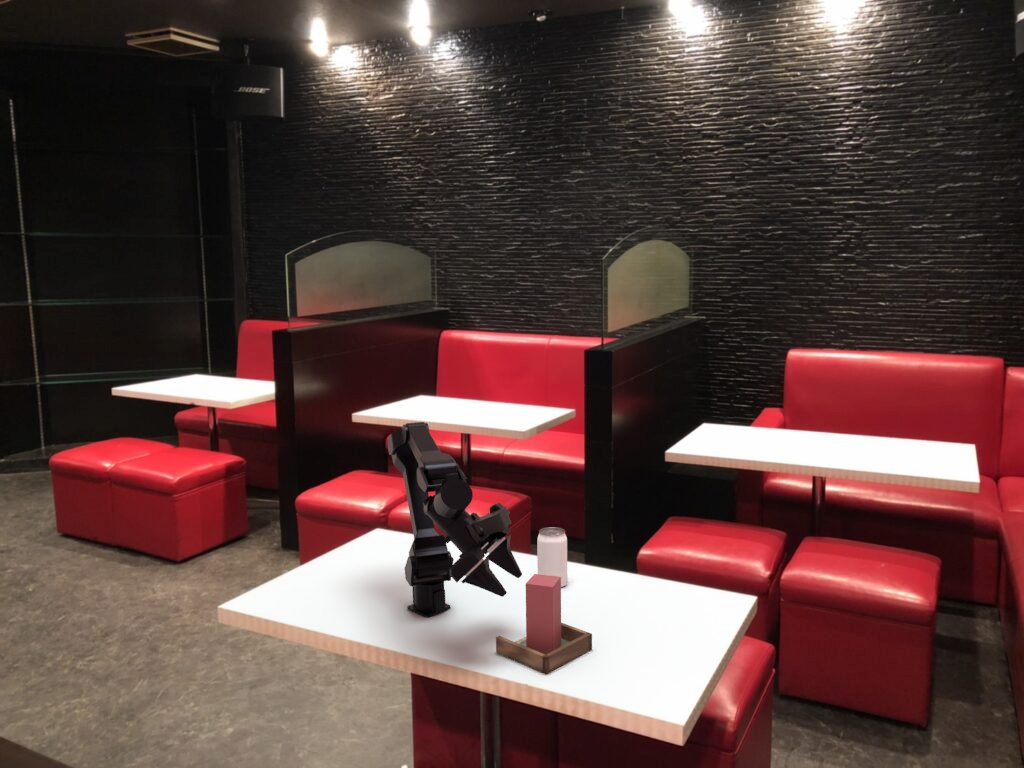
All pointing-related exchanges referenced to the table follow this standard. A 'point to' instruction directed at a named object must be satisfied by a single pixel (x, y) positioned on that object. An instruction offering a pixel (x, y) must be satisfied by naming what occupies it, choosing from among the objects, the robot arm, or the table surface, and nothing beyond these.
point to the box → (571, 648)
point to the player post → (543, 613)
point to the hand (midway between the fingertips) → (512, 585)
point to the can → (552, 553)
